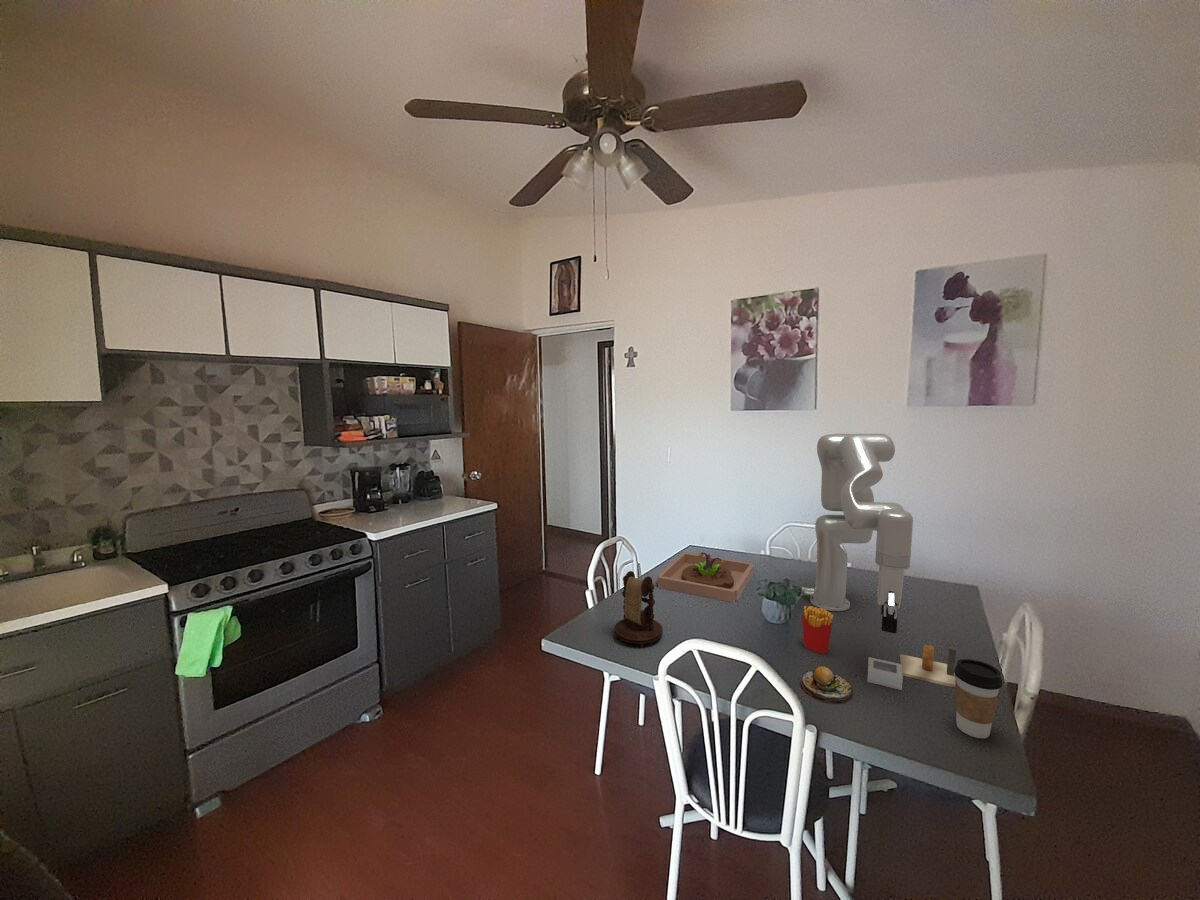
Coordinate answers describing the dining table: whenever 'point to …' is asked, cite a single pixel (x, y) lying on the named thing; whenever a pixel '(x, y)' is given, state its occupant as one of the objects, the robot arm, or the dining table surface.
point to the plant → (708, 573)
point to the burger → (826, 686)
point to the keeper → (930, 667)
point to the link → (885, 673)
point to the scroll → (638, 612)
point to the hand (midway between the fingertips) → (888, 623)
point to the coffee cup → (976, 696)
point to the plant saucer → (673, 581)
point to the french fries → (817, 629)
